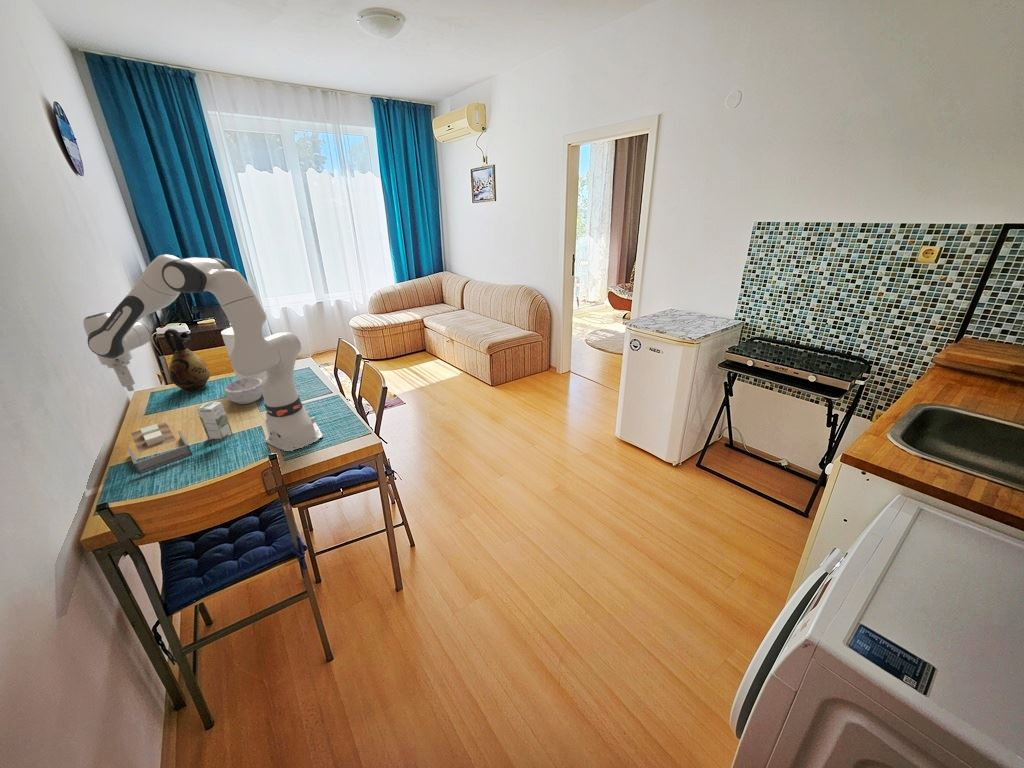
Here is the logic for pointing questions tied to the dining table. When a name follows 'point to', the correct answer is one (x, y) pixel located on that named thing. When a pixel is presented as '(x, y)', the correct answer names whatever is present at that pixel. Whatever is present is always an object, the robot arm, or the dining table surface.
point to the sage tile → (150, 429)
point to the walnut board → (167, 437)
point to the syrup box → (214, 420)
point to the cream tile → (153, 438)
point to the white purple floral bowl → (244, 390)
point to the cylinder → (229, 343)
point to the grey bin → (162, 458)
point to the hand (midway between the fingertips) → (130, 390)
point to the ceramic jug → (185, 364)
